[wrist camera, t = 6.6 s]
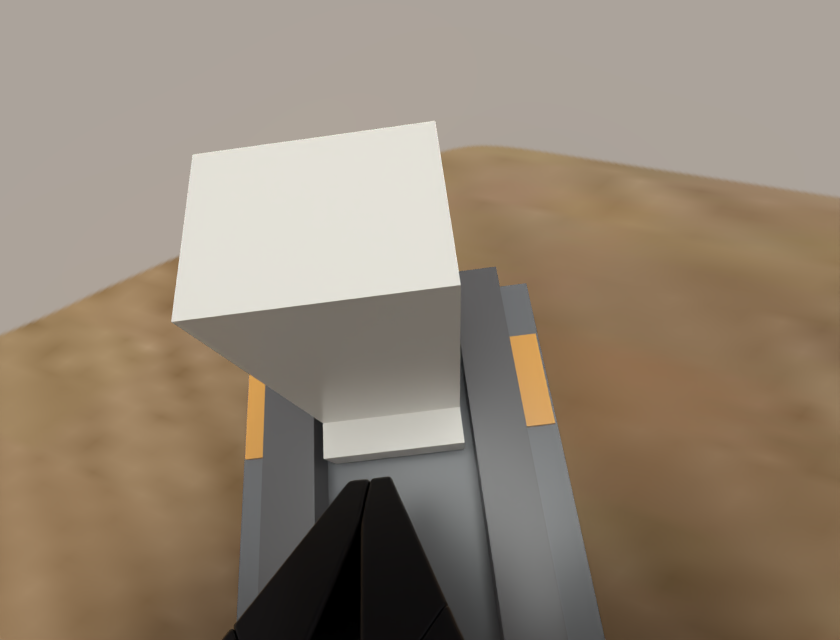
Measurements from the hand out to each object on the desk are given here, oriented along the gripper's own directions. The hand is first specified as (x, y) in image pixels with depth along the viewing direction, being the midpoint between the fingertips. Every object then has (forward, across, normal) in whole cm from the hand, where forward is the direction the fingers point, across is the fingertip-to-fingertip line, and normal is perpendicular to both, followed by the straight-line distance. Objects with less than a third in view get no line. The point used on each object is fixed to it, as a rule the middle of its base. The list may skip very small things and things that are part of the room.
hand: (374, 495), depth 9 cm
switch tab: (+6, 0, +1) cm, 6 cm away
